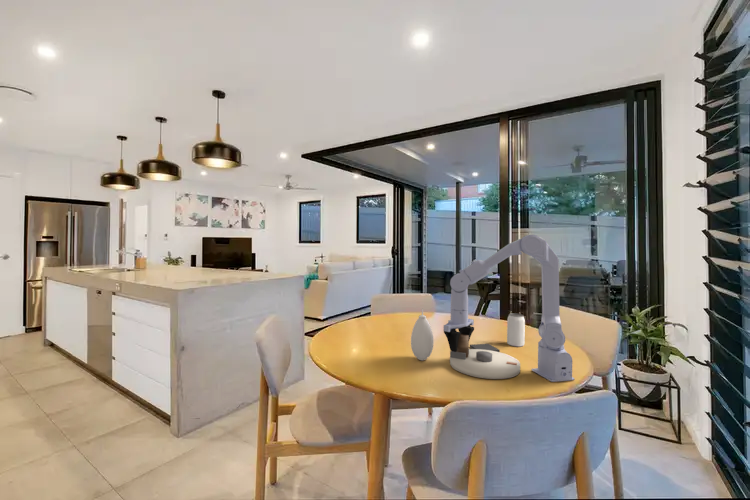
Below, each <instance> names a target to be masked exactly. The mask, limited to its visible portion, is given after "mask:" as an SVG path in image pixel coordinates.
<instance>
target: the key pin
mask: <svg viewBox="0 0 750 500" xmlns="http://www.w3.org/2000/svg"><path fill="white" fill-rule="evenodd" d="M469 349H470V339H469V335H467V334H460V336H459V339H458V347H457V352H461V353H466V358H467V357H468V354H469Z"/></svg>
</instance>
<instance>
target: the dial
mask: <svg viewBox="0 0 750 500" xmlns="http://www.w3.org/2000/svg"><path fill="white" fill-rule="evenodd" d="M449 354H450V355H449V365H450V367H451V368H452V369H453V370H455V371H458V372H459V373H461V374H464V375H467V376H471V377H475V378H479V379H486V380H487V379H488V380H503V379H511V378H514V377H516V376H518V375H519V374H520V373H521V362H520V361H519V359H517V358H516V357H513V356H511V355H510V354H507V353H505V352H501V351H500V352H496V351H491V350H483V349H472V348H469V354H468V357H467V358H466V353H461V352H453V351H450V350H449Z"/></svg>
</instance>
